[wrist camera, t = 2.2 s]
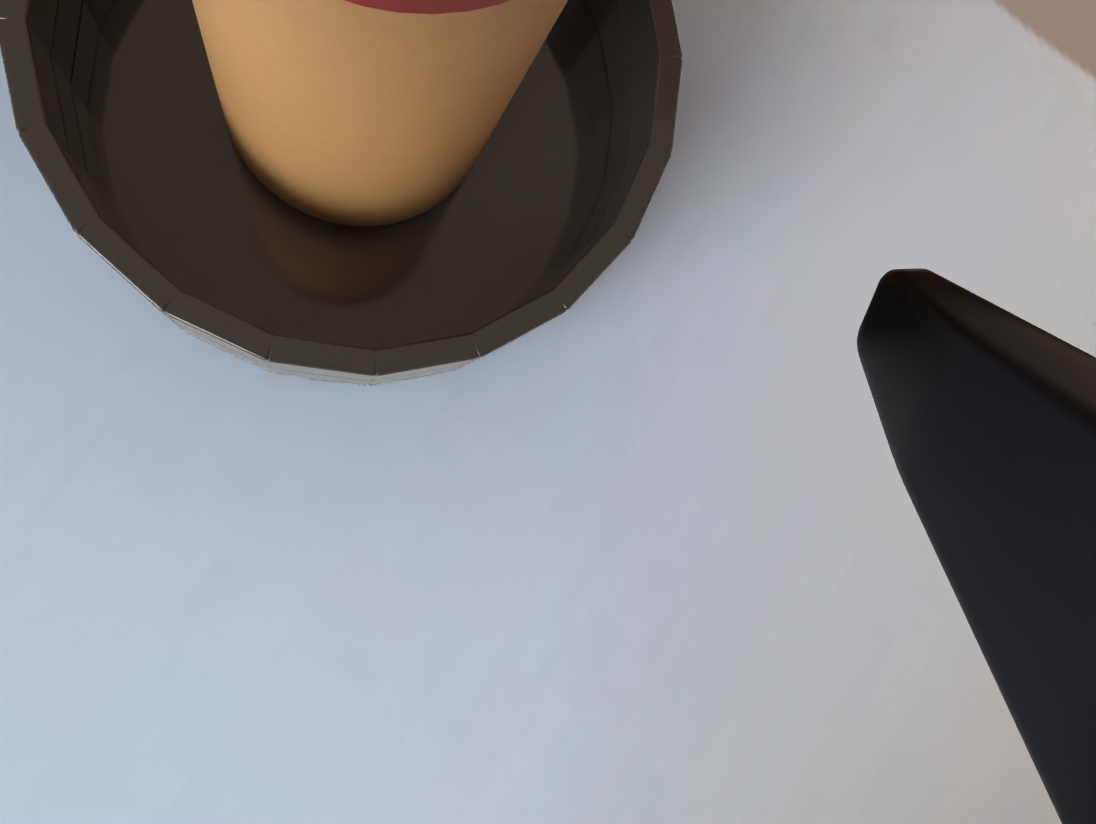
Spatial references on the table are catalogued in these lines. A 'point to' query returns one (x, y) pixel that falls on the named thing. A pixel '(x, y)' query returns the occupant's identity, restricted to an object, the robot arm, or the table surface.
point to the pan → (324, 247)
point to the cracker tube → (367, 94)
